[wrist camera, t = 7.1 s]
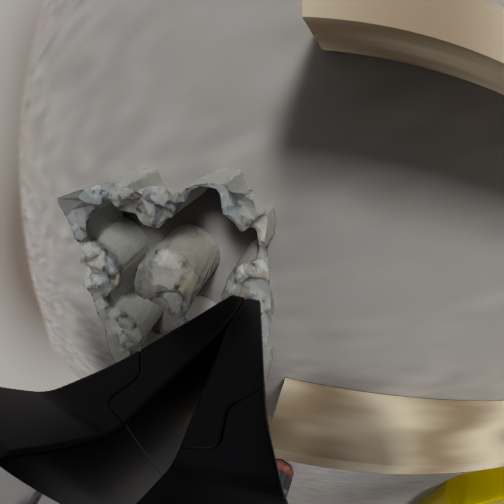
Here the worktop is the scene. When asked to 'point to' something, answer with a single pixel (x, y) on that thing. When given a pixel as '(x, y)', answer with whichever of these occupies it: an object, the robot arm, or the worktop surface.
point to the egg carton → (164, 253)
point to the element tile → (471, 489)
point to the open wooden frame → (378, 405)
